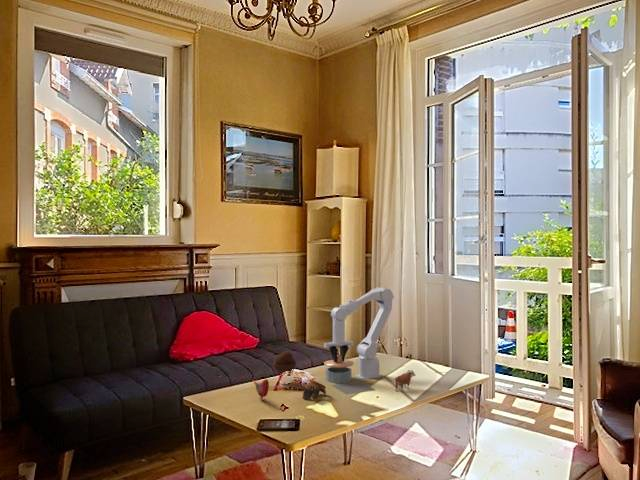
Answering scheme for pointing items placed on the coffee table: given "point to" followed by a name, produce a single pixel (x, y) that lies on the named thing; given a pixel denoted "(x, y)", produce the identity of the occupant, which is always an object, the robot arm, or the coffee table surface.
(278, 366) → the dark brown rounded lump
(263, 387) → the decorative bird figurine
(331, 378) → the bowl
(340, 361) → the lid
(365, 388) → the mat
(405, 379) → the bull figurine
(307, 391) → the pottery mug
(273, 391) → the coffee table surface
